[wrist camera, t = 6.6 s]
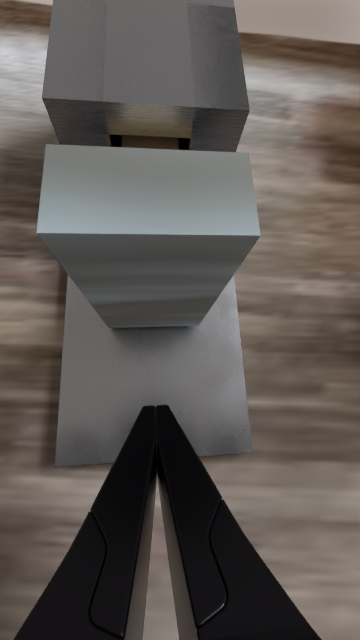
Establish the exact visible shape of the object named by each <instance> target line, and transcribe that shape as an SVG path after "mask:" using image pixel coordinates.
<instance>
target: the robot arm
mask: <svg viewBox="0 0 360 640" xmlns="http://www.w3.org/2000/svg"><path fill="white" fill-rule="evenodd" d="M156 439H157V446H156ZM157 476H158V486H159V493H160V500H161V508H162V515H163V523H164V530H165V537H166V545H167V552H168V559H169V567H170V574H171V582H172V589H173V596H174V604H175V611H176V618H177V626H178V633H179V640H322V639H321V638H320V637H319V636H318V635H317V633H316V632H315V631H314V630H313V628H312V627H311V626H310V625H309V623H308V622H307V621H306V619H305V618H304V617H303V615H302V614H301V613H300V611H299V610H298V609H297V607H296V606H295V604H294V603H293V602H292V600H291V599H290V598H289V596H288V595H287V593H286V592H285V591H284V589H283V588H282V586H281V585H280V584H279V582H278V581H277V580H276V578H275V577H274V575H273V574H272V573H271V571H270V570H269V569H268V567H267V566H266V564H265V563H264V562H263V560H262V559H261V557H260V556H259V555H258V553H257V552H256V550H255V549H254V547H253V546H252V544H251V543H250V542H249V540H248V539H247V537H246V536H245V534H244V533H243V531H242V529H241V528H240V526H239V525H238V523H237V521H236V520H235V518H234V517H233V515H232V513H231V512H230V510H229V508H228V506H227V505H226V503H225V501H224V500H222V496H221V495H220V493H219V491H218V489H217V488H216V486H215V484H214V482H213V481H212V479H211V477H210V476H209V474H208V472H207V470H206V469H205V467H204V465H203V463H202V462H201V460H200V458H199V457H198V455H197V453H196V451H195V450H194V448H193V446H192V444H191V443H190V441H189V439H188V438H187V436H186V434H185V432H184V431H183V429H182V427H181V425H180V424H179V422H178V420H177V419H176V417H175V415H174V413H173V412H172V410H171V408H170V407H169V405H157V406H156V407H155V406H154V405H149V406H143V407H142V409H141V411H140V413H139V415H138V417H137V419H136V420H135V422H134V424H133V426H132V428H131V430H130V432H129V434H128V436H127V438H126V440H125V442H124V444H123V446H122V448H121V450H120V452H119V454H118V456H117V458H116V460H115V462H114V464H113V466H112V468H111V470H110V472H109V474H108V476H107V478H106V480H105V481H104V483H103V485H102V487H101V489H100V491H99V493H98V495H97V497H96V499H95V501H94V503H93V505H92V507H91V512H89V513H88V515H87V517H86V519H85V520H84V522H83V524H82V526H81V528H80V530H79V532H78V534H77V536H76V538H75V539H74V541H73V543H72V545H71V547H70V549H69V551H68V552H67V554H66V556H65V557H64V559H63V561H62V562H61V564H60V566H59V567H58V569H57V571H56V572H55V574H54V576H53V577H52V579H51V581H50V582H49V584H48V585H47V587H46V589H45V590H44V592H43V593H42V595H41V597H40V598H39V600H38V601H37V603H36V605H35V606H34V608H33V609H32V611H31V612H30V614H29V616H28V617H27V619H26V620H25V622H24V624H23V625H22V627H21V628H20V630H19V632H18V633H17V635H16V636H15V638H14V640H142V637H143V626H144V615H145V604H146V593H147V583H148V572H149V561H150V550H151V539H152V528H153V517H154V506H155V495H156V483H157Z"/></svg>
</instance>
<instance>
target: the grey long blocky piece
mask: <svg viewBox="0 0 360 640" xmlns="http://www.w3.org/2000/svg"><path fill="white" fill-rule="evenodd" d="M42 99H43V102H44V104H45V107H46V109H47V112H48V114H49V117H50V120H51V122H52V125H53V127H54V130H55V132H56V135H57V138H58V140H59V143H60V145H79V146H101V147H122V135H135V136H156V137H176V138H178V146H179V150H192V151H215V152H236V149H237V146H238V143H239V140H240V137H241V134H242V131H243V128H244V125H245V122H246V119H247V116H248V114H249V111H250V110H249V103H248V96H247V89H246V83H245V76H244V69H243V62H242V56H241V49H240V42H239V35H238V29H237V22H236V15H235V9H234V1H233V0H53V7H52V16H51V25H50V33H49V42H48V50H47V59H46V68H45V76H44V85H43V94H42ZM149 405H154V406H155V407H156V406H157V405H169V407H170V408H171V410H172V412H173V413H174V415H175V417H176V419H177V420H178V422H179V424H180V425H181V427H182V429H183V431H184V432H185V434H186V436H187V438H188V439H189V441H190V443H191V444H192V446H193V448H194V450H195V451H196V453H197V455H198V456H211V455H224V454H238V453H251V452H252V444H251V434H250V425H249V415H248V406H247V396H246V387H245V377H244V368H243V358H242V349H241V340H240V330H239V321H238V311H237V302H236V292H235V283H234V275H233V276H232V278H231V279H230V281H229V282H228V284H227V285H226V287H225V288H224V290H223V291H222V293H221V294H220V295H219V297H218V298H217V300H216V301H215V303H214V304H213V306H212V307H211V309H210V310H209V312H208V313H207V314H206V316H205V317H204V319H203V320H202V322H201V323H200V325H199V326H162V327H119V328H108V327H107V325H106V324H105V323H104V321H103V320H102V319H101V317H100V316H99V315H98V313H97V312H96V311H95V309H94V308H93V307H92V305H91V304H90V303H89V301H88V300H87V299H86V298H85V296H84V295H83V294H82V292H81V291H80V290H79V288H78V287H77V286H76V284H75V283H74V282H73V280H72V279H71V278H70V276H69V275H68V278H67V293H66V308H65V323H64V337H63V352H62V367H61V382H60V397H59V411H58V426H57V441H56V456H55V467H61V466H75V465H89V464H102V463H114V462H115V460H116V458H117V456H118V454H119V452H120V450H121V448H122V446H123V444H124V442H125V440H126V438H127V436H128V434H129V432H130V430H131V428H132V426H133V424H134V422H135V420H136V419H137V417H138V415H139V413H140V411H141V409H142V407H143V406H149ZM156 446H157V439H156Z"/></svg>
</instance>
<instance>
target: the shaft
mask: <svg viewBox="0 0 360 640" xmlns="http://www.w3.org/2000/svg"><path fill="white" fill-rule="evenodd" d="M37 234H38V236H39V237H40V238H41V240H42V241H43V242H44V244H45V245H46V246H47V247H48V249H49V250H50V251H51V253H52V254H53V255H54V257H55V258H56V259H57V261H58V262H59V263H60V265H61V266H62V267H63V269H64V270H65V271H66V272H67V274H68V275H69V276H70V278H71V279H72V280H73V282H74V283H75V284H76V286H77V287H78V288H79V290H80V291H81V292H82V294H83V295H84V296H85V298H86V299H87V300H88V301H89V303H90V304H91V305H92V307H93V308H94V309H95V311H96V312H97V313H98V315H99V316H100V317H101V319H102V320H103V321H104V323H105V324H106V325H107V327H108V328H119V327H162V326H199V325H200V323H201V322H202V320H203V319H204V317H205V316H206V314H207V313H208V312H209V310H210V309H211V307H212V306H213V304H214V303H215V301H216V300H217V298H218V297H219V295H220V294H221V293H222V291H223V290H224V288H225V287H226V285H227V284H228V282H229V281H230V279H231V278H232V276H233V275H234V273H235V272H236V271H237V269H238V268H239V266H240V265H241V263H242V262H243V260H244V259H245V257H246V256H247V254H248V253H249V252H250V250H251V249H252V247H253V246H254V244H255V243H256V241H257V240H258V238H259V237H260V229H259V222H258V214H257V207H256V200H255V193H254V186H253V178H252V171H251V164H250V157H249V153H238V152H215V151H192V150H179V146H178V138H176V137H156V136H135V135H122V147H101V146H79V145H56V144H46V147H45V156H44V166H43V176H42V185H41V195H40V204H39V214H38V223H37Z"/></svg>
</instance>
